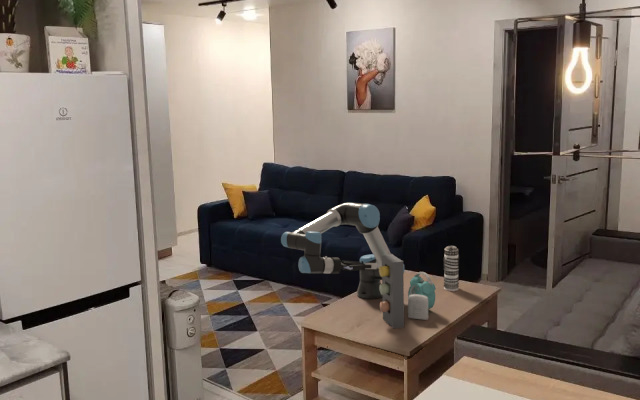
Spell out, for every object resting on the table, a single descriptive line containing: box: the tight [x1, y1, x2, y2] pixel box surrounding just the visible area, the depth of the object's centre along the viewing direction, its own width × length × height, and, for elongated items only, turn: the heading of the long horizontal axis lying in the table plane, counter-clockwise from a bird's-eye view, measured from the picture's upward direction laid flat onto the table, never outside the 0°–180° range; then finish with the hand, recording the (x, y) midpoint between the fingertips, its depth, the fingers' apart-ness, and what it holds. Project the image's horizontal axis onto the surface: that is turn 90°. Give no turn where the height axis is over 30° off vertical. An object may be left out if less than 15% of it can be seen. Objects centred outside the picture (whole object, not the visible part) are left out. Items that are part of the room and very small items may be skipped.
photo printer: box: [407, 294, 429, 321], centre depth 303 cm, size 10×4×12 cm, turn 69°
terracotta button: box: [379, 301, 390, 313], centre depth 296 cm, size 4×5×5 cm
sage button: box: [379, 283, 390, 294], centre depth 294 cm, size 4×5×5 cm
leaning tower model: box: [442, 245, 460, 292], centre depth 347 cm, size 9×9×25 cm
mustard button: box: [379, 266, 390, 277], centre depth 293 cm, size 4×5×5 cm
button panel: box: [381, 254, 405, 329], centre depth 296 cm, size 6×14×33 cm, turn 16°
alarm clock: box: [407, 271, 436, 310], centre depth 314 cm, size 17×10×20 cm, turn 23°
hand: (376, 266), depth 292 cm, fingers closed
